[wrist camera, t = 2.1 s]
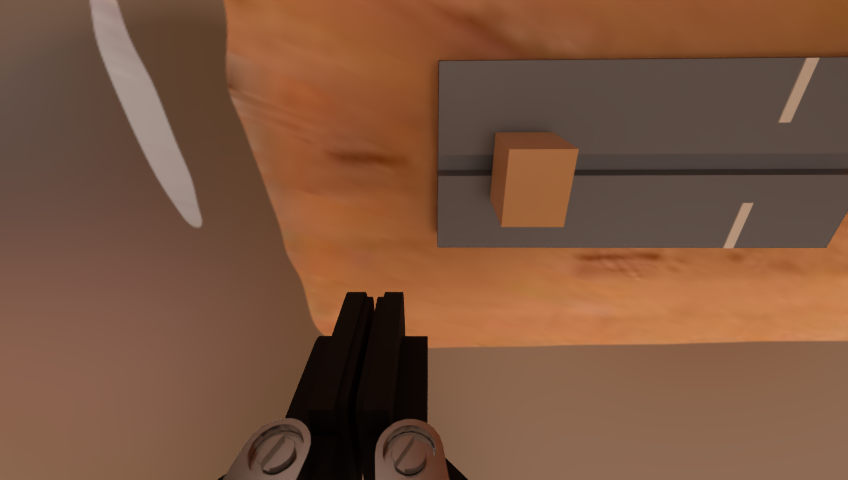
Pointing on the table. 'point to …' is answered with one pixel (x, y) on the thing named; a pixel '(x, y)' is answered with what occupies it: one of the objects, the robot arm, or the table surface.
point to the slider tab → (532, 178)
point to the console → (654, 150)
